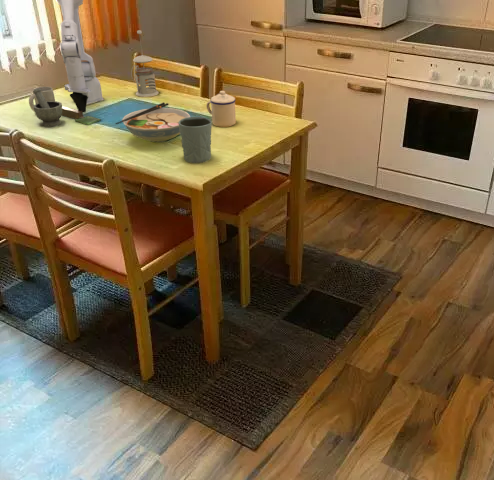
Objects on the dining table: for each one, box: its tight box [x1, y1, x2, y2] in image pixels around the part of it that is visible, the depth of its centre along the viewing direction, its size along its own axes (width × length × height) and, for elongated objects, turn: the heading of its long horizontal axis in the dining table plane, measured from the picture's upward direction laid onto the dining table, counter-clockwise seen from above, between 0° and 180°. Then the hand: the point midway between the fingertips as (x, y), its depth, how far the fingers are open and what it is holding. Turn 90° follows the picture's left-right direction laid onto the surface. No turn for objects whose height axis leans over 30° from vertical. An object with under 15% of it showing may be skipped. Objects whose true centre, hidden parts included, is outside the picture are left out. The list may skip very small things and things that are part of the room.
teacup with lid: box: [206, 90, 237, 128], centre depth 213 cm, size 12×9×12 cm
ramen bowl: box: [114, 102, 191, 143], centre depth 199 cm, size 25×23×8 cm
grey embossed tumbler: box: [178, 116, 213, 164], centre depth 184 cm, size 10×10×12 cm
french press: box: [130, 29, 160, 98], centre depth 239 cm, size 10×12×25 cm
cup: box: [28, 86, 56, 113], centre depth 221 cm, size 7×10×9 cm
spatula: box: [61, 105, 102, 126], centre depth 218 cm, size 18×6×3 cm, turn 57°
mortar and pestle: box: [32, 89, 63, 128], centre depth 211 cm, size 11×9×12 cm
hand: (82, 112), depth 221 cm, fingers closed
